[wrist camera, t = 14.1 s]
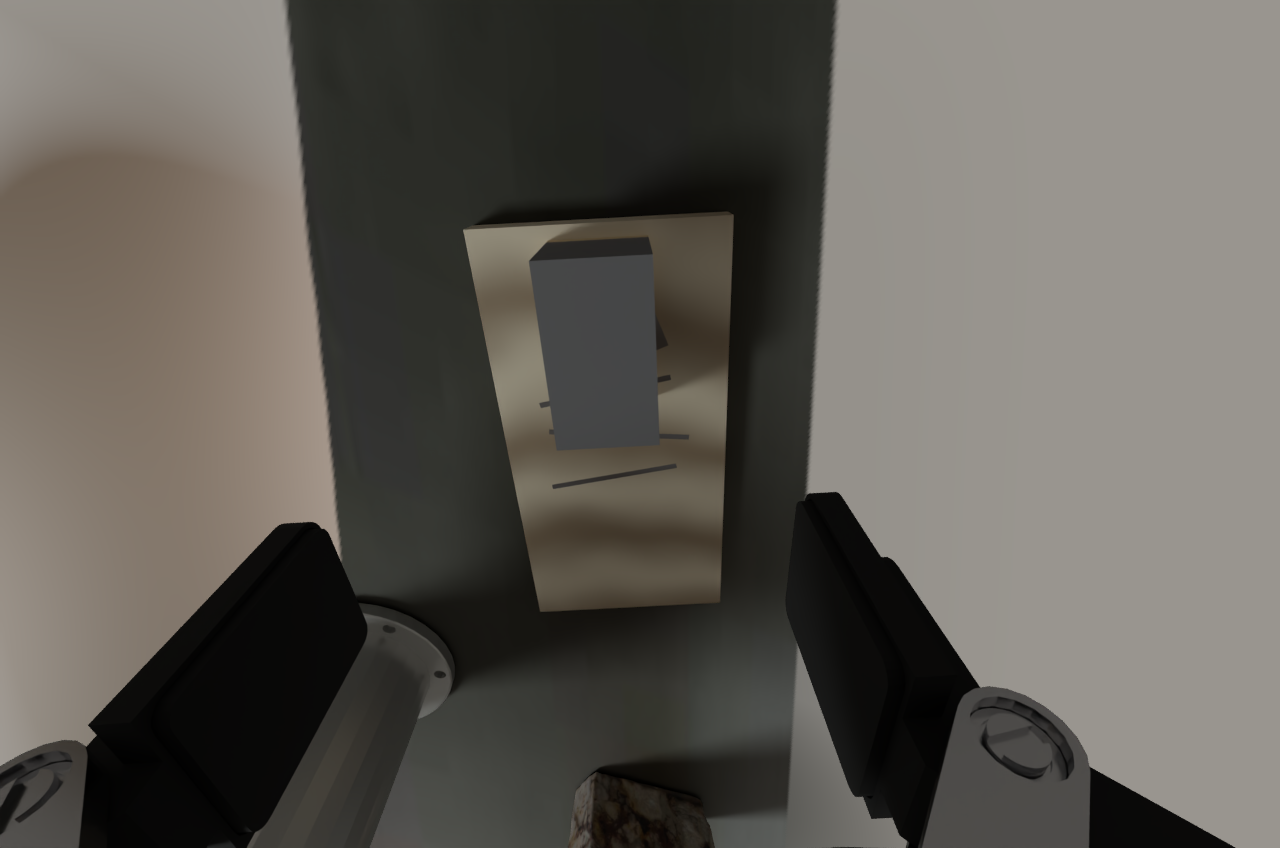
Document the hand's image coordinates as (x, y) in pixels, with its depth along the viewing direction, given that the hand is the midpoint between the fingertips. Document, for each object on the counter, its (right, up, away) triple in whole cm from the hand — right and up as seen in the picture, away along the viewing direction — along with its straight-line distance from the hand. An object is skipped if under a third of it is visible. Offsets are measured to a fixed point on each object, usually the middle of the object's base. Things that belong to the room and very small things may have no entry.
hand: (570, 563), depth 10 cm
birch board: (0, +2, +19) cm, 19 cm away
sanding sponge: (0, +8, +14) cm, 16 cm away
